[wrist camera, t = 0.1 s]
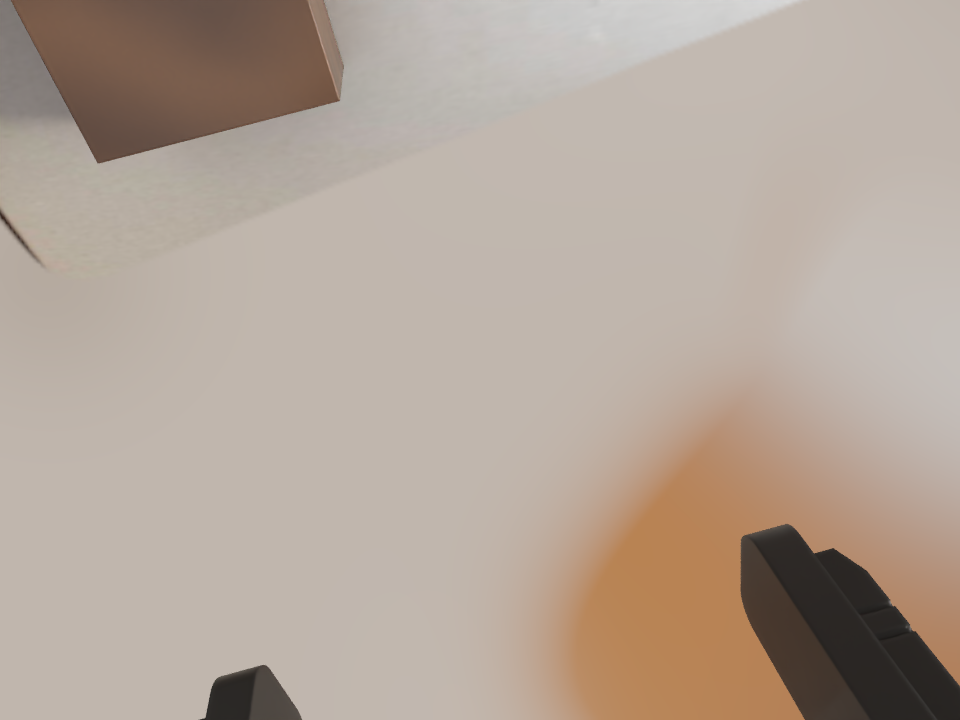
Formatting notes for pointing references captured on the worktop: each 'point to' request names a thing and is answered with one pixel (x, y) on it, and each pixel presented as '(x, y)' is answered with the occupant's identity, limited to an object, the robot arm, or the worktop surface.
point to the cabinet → (182, 65)
